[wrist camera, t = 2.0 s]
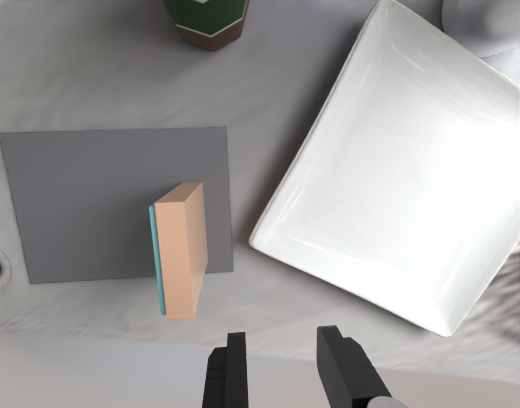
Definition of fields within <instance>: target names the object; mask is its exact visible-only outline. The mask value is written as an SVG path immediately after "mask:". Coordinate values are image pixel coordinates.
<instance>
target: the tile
mask: <svg viewBox="0 0 520 408" xmlns="http://www.w3.org/2000/svg"><path fill="white" fill-rule="evenodd" d="M149 212H150V221H151V230H152V239H153V248H154V257H155V266H156V275H157V284H158V293H159V302H160V311H161V315H167V320H179V319H193V318H194V317H195V313H196V309H197V304H198V300H199V296H200V292H201V288H202V284H203V280H204V276H205V271H206V267H207V263H208V253H207V239H206V225H205V210H204V196H203V182H202V181H199V182H183V183H181V184H180V185H179V186H177V187H175V188H174V189H173V190H171V191H170V192H169V193H167V194H166V195H164V196H163V197H162V198H160V199H159V200H158V201H156V202H155V203H153V204H152V205H151V206H149Z"/></svg>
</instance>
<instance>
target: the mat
mask: <svg viewBox="0 0 520 408" xmlns="http://www.w3.org/2000/svg"><path fill="white" fill-rule="evenodd" d="M0 140H1V145H2V150H3V155H4V160H5V164H6V169H7V174H8V179H9V183H10V188H11V193H12V198H13V202H14V207H15V212H16V217H17V221H18V226H19V231H20V236H21V240H22V245H23V250H24V255H25V259H26V264H27V269H28V274H29V278H30V283H31V284H40V283H57V282H73V281H89V280H106V279H122V278H138V277H154V276H157V275H156V266H155V257H154V248H153V239H152V230H151V221H150V212H149V206H151V205H152V204H153V203H155V202H156V201H158V200H159V199H160V198H162V197H163V196H164V195H166V194H167V193H169V192H170V191H171V190H173V189H174V188H175V187H177V186H179V185H180V184H181V183H183V182H199V181H202V182H203V196H204V210H205V225H206V239H207V253H208V263H207V267H206V271H205V273H220V272H233V255H232V236H231V217H230V198H229V178H228V159H227V140H226V127H214V128H175V129H136V130H98V131H59V132H20V133H0Z"/></svg>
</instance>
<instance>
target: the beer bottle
mask: <svg viewBox="0 0 520 408" xmlns="http://www.w3.org/2000/svg"><path fill="white" fill-rule="evenodd" d="M162 2H163V4H164V6H165V7H166V9H167V11H168V13H169V14H170V16H171V18H172V20H173V22H174V23H175V25H176V27H177V29H178V31H179V32H180V34H181V36H182V37H183V39H184V40H185V42H188V43H191V44H194V45H197V46H200V47H203V48H207V49H210V50H213V51H216V50H218V49H219V48H221V47H223V46H225V45H226V44H228V43H230V42H231V41H233V40H235V39H237V38H238V37H240V36H241V32H242V28H243V24H244V20H245V16H246V12H247V8H248V4H249V0H162Z"/></svg>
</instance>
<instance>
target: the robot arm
mask: <svg viewBox="0 0 520 408" xmlns="http://www.w3.org/2000/svg"><path fill="white" fill-rule="evenodd" d="M442 25H443V30H444V33H445V34H446V35H448V36H449V37H451V38H452V39H454V40H455V41H456V42H458V43H459V44H460V45H462V46H463V47H465V48H466V49H467V50H469V51H470V52H472V53H473V54H475V55H476V56H477V57H479V58H485V57H489V56H493V55H496V54H499V53H501V52H504V51H507V50H510V49H513V48H516V47H519V46H520V0H443V5H442ZM317 367H318V372H319V375H320V378H321V381H322V384H323V387H324V389H325V393H326V395H327V398H328V400H329V404H330V406H331V408H408V407H407V406H406V405H405V404H403V403H402V402H400V401H398V400H396V399H394V398H392V396H391V394H390V393H389V391H388V389H387V388H386V386H385V385H384V383H383V381H382V380H381V378H380V377H379V375H378V373H377V372H376V370H375V368H374V367H373V366H372V363H371V362H370V360H369V358H368V357H367V355H366V354H365V352H364V350H363V349H362V347H361V345H359V344H358V343H357V342H356V341H354V340H353V339H352V338H351V337H347V338H343V337H342V335H341V333H340V331H339V330H338V328H337V326H336V325H332V326H319V327H318V328H317ZM202 408H249V407H248V386H247V363H246V341H245V332H238V333H228V338H227V347H219V348H215V349H214V350H213V352H212V353H211V355H210V356H209V358H208V365H207V373H206V380H205V388H204V396H203V403H202Z"/></svg>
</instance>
